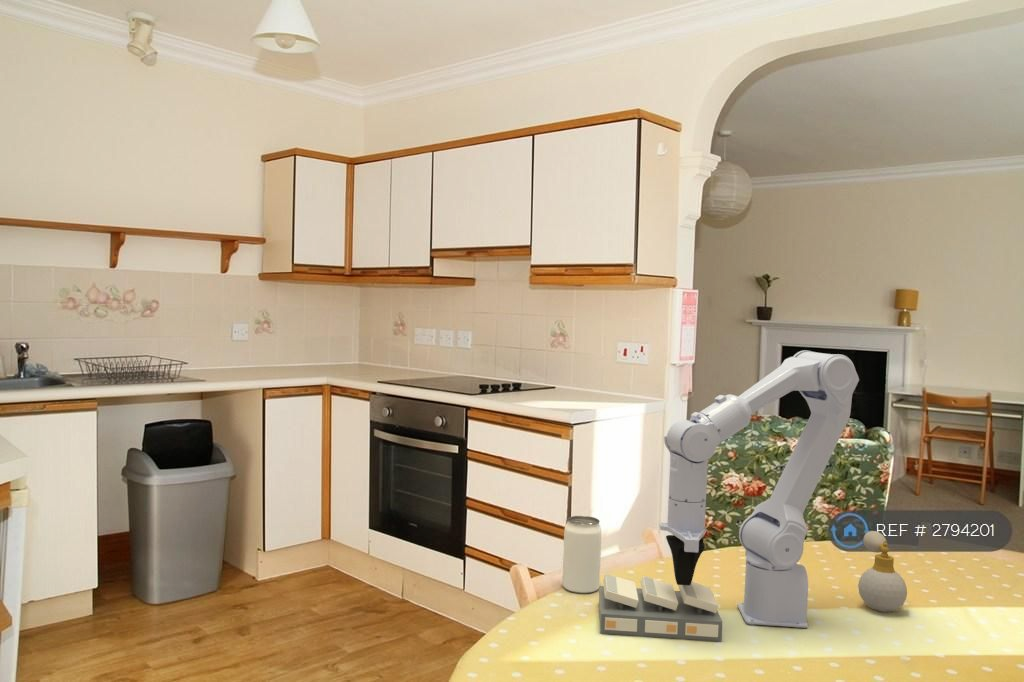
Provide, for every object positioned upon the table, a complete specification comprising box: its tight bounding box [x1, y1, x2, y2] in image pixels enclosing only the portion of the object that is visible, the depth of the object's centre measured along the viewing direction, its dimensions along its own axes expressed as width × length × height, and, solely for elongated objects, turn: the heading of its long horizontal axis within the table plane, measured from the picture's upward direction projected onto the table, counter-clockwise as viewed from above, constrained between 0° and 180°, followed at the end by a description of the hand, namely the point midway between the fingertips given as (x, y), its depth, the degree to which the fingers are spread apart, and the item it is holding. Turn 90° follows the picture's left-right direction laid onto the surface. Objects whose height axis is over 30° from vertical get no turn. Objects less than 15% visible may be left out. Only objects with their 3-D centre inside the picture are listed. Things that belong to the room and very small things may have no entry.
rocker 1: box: [602, 573, 639, 608], centre depth 128 cm, size 5×8×1 cm, turn 175°
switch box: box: [598, 585, 723, 642], centre depth 128 cm, size 18×12×4 cm
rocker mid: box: [640, 575, 678, 610], centre depth 128 cm, size 5×8×1 cm, turn 175°
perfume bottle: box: [857, 530, 908, 613], centre depth 137 cm, size 8×10×12 cm
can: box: [562, 515, 603, 595], centre depth 141 cm, size 6×6×12 cm
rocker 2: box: [677, 581, 719, 613], centre depth 127 cm, size 5×8×1 cm, turn 175°
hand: (683, 583), depth 127 cm, fingers closed
